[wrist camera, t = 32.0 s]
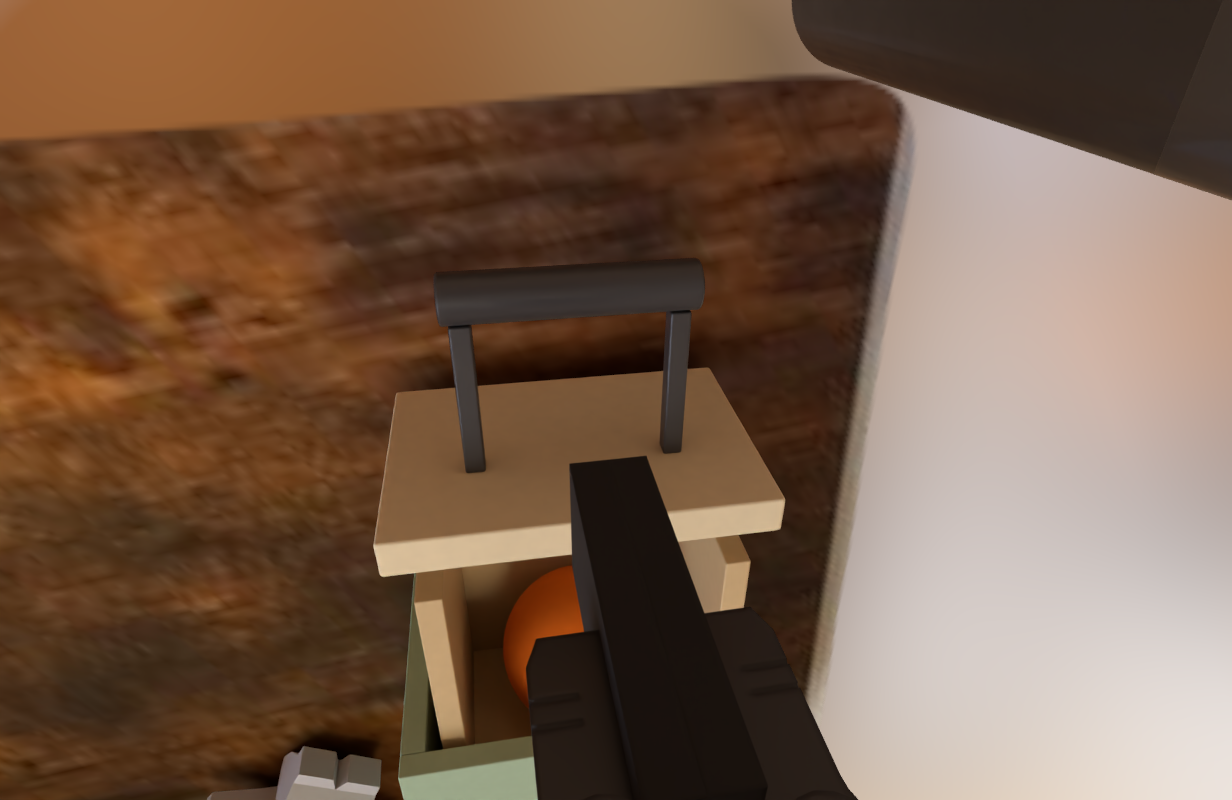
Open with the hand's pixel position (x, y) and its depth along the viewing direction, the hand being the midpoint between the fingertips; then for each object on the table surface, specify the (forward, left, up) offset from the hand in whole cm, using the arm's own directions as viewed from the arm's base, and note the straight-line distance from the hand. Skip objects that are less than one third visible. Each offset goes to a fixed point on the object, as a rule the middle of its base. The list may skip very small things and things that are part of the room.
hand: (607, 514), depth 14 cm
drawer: (0, +7, -12) cm, 14 cm away
